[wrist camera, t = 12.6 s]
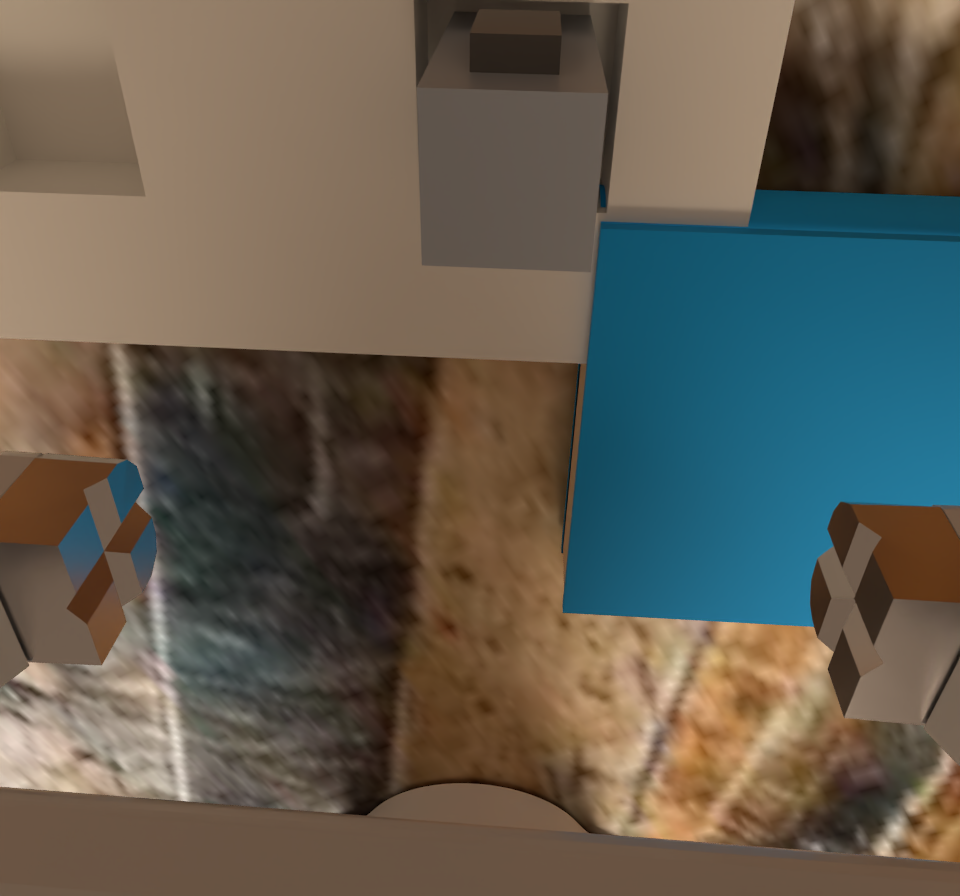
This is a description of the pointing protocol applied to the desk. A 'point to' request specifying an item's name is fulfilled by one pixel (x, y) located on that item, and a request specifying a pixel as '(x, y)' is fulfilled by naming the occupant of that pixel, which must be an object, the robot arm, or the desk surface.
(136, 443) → the desk surface
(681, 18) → the socket board
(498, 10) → the plug
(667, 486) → the book
